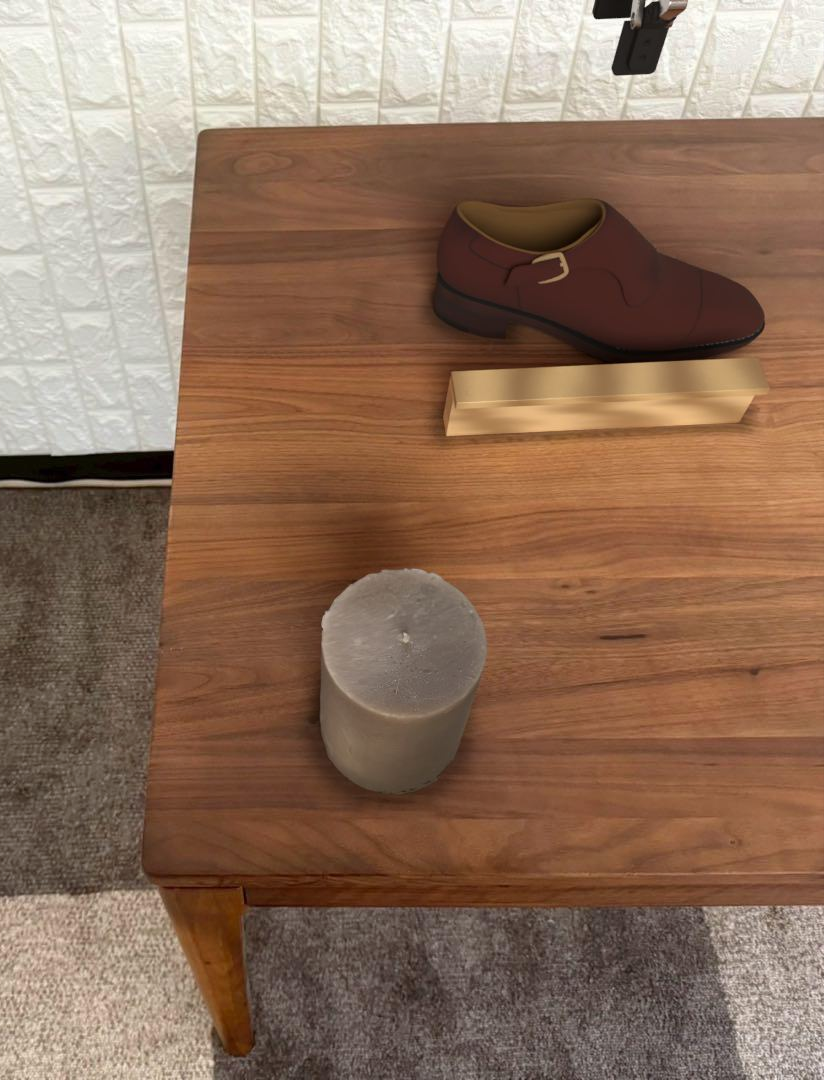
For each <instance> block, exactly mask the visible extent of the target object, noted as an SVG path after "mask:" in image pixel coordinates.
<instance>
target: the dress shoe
mask: <svg viewBox="0 0 824 1080" xmlns="http://www.w3.org/2000/svg"><path fill="white" fill-rule="evenodd" d="M436 267H437V270H438V271H437V273H436V279H435V289H434V290H435V291H434V295H433V296H434V297H433V311H434V313H435V315H436V316H437V317H438V318H439V319H440V320H441V321H442V322H444V323H445V324H447V325H448V326H450V327H452V328H454V329H456V330H458V331H461V332H463V333H467V334H470V335H473V336H476V337H479V338H485V339H496V340H497V339H499V340H506V333H507V328H508V324H509V323H513V324H516V325H517V324H518V325H520V326H524V327H528V328H532V329H535V330H538V331H540V332H542V333H545V334H547V335H549V336H552V337H554V338H556V339H558V340H561V341H562V342H564V343H566V344H568V345H570V346H572V347H574V348H576V349H578V350H580V351H582V352H584V353H586V354H588V355H591V356H592V357H595V358H597V359H600V360H602V361H606V362H608V363H611V364H623V363H645V362H666V361H688V360H702V359H706V358H710V357H715V356H719V355H723V354H727V353H731V352H734V351H736V350H739V349H742V348H744V347H747V346H748V345H750V344H752V342H753V341H755V340H756V339H757V338H758V337H759V336H760V335H761V334H762V333H763V332H764V330H765V326H766V321H765V311H764V309H763V307H762V305H761V304H760V301H758V299H757V298H756V297H755V295H754V294H753V293H752V292H751V291H750V290H749V289H748V288H747V287H745V286H744V285H742V284H741V283H739V282H736V281H735V280H733V279H731V278H729V277H726V276H724V275H722V274H719V273H716V272H713V271H710V270H707V269H704V268H701V267H698V266H695V265H692V264H691V263H687V262H685V261H682V260H680V259H678V258H675V257H672V256H670V255H667V254H664V253H662V252H659V251H658V250H657V249H656V248H655V246H654V245H653V244H652V243H651V242H650V241H649V240H648V239H647V238H646V237H645V236H644V235H643V233H641V232H640V231H639V229H637V228H636V226H634V225H633V224H632V222H630V221H629V219H627V218H626V217H625V216H624V215H622V213H620V212H619V211H618V210H617V209H616V208H615V207H614V206H612V205H611V204H609V203H608V202H606V201H604V200H601V199H599V198H591V197H590V198H589V197H587V198H575V199H568V200H562V201H556V202H551V203H544V204H538V205H537V204H535V205H516V204H504V203H499V202H493V201H486V200H462V201H460V202H458V203H457V204H456V206H455V207H454V208H453V210H452V212H451V214H450V215H449V217H448V219H447V221H446V222H445V225H444V226H443V229H442V231H441V233H440V237H439V239H438V244H437V249H436Z"/></svg>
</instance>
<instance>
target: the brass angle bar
mask: <svg viewBox="0 0 824 1080" xmlns="http://www.w3.org/2000/svg"><path fill="white" fill-rule="evenodd" d="M770 390H771V387H770V384H769V381H768V379H767V375H766V373H765V370H764V368H763V365H762V363H761V359H760V357H758V356H757V357H735V358H734V357H732V358H714V359H713V358H711V359H696V360H688V361H666V362H645V363H623V364H617V363H605V364H604V363H603V364H602V363H601V364H582V365H580V364H579V365H562V366H559V365H558V366H541V367H539V366H538V367H522V368H521V367H519V368H515V367H514V368H497V369H495V368H494V369H493V368H492V369H474V370H454V371H453V370H452V371H451V372H450V377H449V383H448V388H447V392H446V393H447V394H446V399H445V404H444V408H443V415H442V419H443V426H444V433H445V437H454V436H476V435H478V436H479V435H496V434H518V433H519V434H520V433H538V432H541V433H542V432H563V431H565V432H566V431H584V430H603V429H604V430H605V429H606V430H607V429H627V428H628V429H629V428H648V427H671V426H687V425H688V426H692V425H693V426H695V425H712V424H713V425H714V424H715V425H716V424H734V423H735V424H736V423H740V422H741V420H742V418H743V417H744V416H745V413H746V412H747V410H748V408H749V406H750V405H751V403H752V401H753V400H754V398H755V397H756V396H767V395H768V393H769V392H770Z"/></svg>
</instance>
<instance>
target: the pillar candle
mask: <svg viewBox="0 0 824 1080" xmlns="http://www.w3.org/2000/svg"><path fill="white" fill-rule="evenodd" d="M321 628H322V631H321V646H320V648H321V649H320V652H321V653H320V692H319V703H320V704H319V707H320V710H319V722H320V734H321V739H322V742H323V745H324V748H325V752H326V756H327V758H329V761H331V762H332V764H333V765H334V767H335V768H336V769H337V770H338V771H339V772H340V773H341V774H342V775H343V776H344V777H346V778H347V779H348V780H349V781H350V782H352V783H353V784H356V785H357V786H359V787H361V788H363V789H365V790H368V791H371V792H373V793H379V794H385V795H390V794H392V795H395V794H396V795H401V794H408V793H412V792H415V791H418V790H420V789H423V788H425V787H428V786H430V785H431V784H433V783H434V782H436V781H438V779H440V777H441V773H442V772H443V771H444V770H445V769H446V767H447V766H448V765H450V764H451V763H452V762H453V761H454V759H455V758H456V754H457V752H458V749H459V746H460V743H461V741H462V737H463V734H464V732H465V729H466V725H467V723H468V719H469V716H470V713H471V710H472V706H473V704H474V700H475V697H476V694H477V691H478V688H479V685H480V683H481V679H482V676H483V673H484V669H485V665H486V663H487V662H486V661H487V657H488V639H487V634H486V630H485V626H484V623H483V620H482V618H481V616H480V614H479V612H478V611H477V610H476V608H475V607H474V604H473V603H472V602H471V601H470V600H469V598H467V596H466V595H465V594H464V593H463V592H462V591H461V590H460V589H458V588H457V587H456V586H454V585H452V583H450V582H448V581H446V580H445V579H443V578H442V577H441V576H440V575H439V574H437V573H436V572H427V571H426V570H424V569H419V568H410V569H409V568H407V567H405V568H403V569H387V568H386V569H381V571H380V572H376V573H375V572H372V573H368V574H366V575H365V576H363V577H361V578H360V579H358V580H357V581H354V582H353V583H350V584H349V585H348V586H347V587H346V588H345V589H343V591H341V593H340V594H339V595H338V596H336V598H335V599H334V600H333V601H332V604H331V605H330V607H329V609H328V610H325V611H324V614H323V616H322V619H321Z"/></svg>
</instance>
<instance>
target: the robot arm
mask: <svg viewBox="0 0 824 1080" xmlns="http://www.w3.org/2000/svg"><path fill="white" fill-rule="evenodd" d="M646 1H647V0H594V3H593V7H592V12H591V13H592V17H593V19H595V20H615V19H617V20H618V19H629V20H624V21H623V24H622V28H621V32H620V36H619V40H618V42H617V46H616V49H615V53H614V56H613V60H612V64H611V72H612V74H613V76H614V77H615V76H616V77H618V76H640V75H652V74H653V73H655V71H656V70H657V67H658V64H659V61H660V58H661V55H662V52H663V49H664V46H665V43H666V42H665V41H666V40H667V37H668V33H669V30H670V28H672V27H673V26H674V25H673V24H674V22H675V20H676V19H677V17H678V16H679V15H681V14H682V13H683V12H685V10H686V9H687V7H688V3H689V0H657V1H655V0H653V1H651V2H650V3H649V4H647V5H646Z"/></svg>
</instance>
